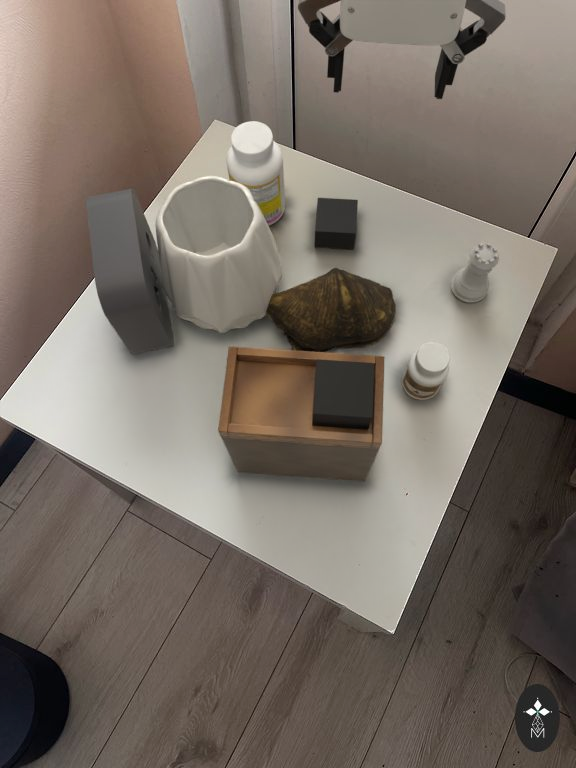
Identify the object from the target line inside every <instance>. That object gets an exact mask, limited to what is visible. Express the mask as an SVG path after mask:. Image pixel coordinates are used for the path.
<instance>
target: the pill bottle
mask: <svg viewBox="0 0 576 768" xmlns="http://www.w3.org/2000/svg"><path fill="white" fill-rule="evenodd" d="M450 362H451V355H450V352H449V350H448V348H447V347H446V346H445V345H443V344H442V343H440V342H436V341H429V342H425V343H423V344H422V345H421V346H420V347H419V348H418V349H417V350H416V351H414V353H413V354H411V356H410V357H409V359H408V361H407V364H406V367H405V369H404V371H403V375H402V377H401V384H402V387H403V390H404V391H405V393H406V394H407V395H408V396H409V397H411V398H413V399H416V400H420V401H425V400H429V399H431V398H433V397H435V396H436V395H437V394H438V392H439V391H440V389H441V387H442V386H443V384H444V382H445V381H446V380H447V378H448V375H449V373H450Z"/></svg>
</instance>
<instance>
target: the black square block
mask: <svg viewBox="0 0 576 768" xmlns="http://www.w3.org/2000/svg"><path fill="white" fill-rule="evenodd" d="M374 366H375V364H374V363H367V362H352V361H337V360H322V359H317V360H316V373H315V387H314V400H313V415H312V426H323V427H337V428H351V429H365V430H368V429H369V427H370V424H371V421H372V418H373V394H374Z"/></svg>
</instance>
